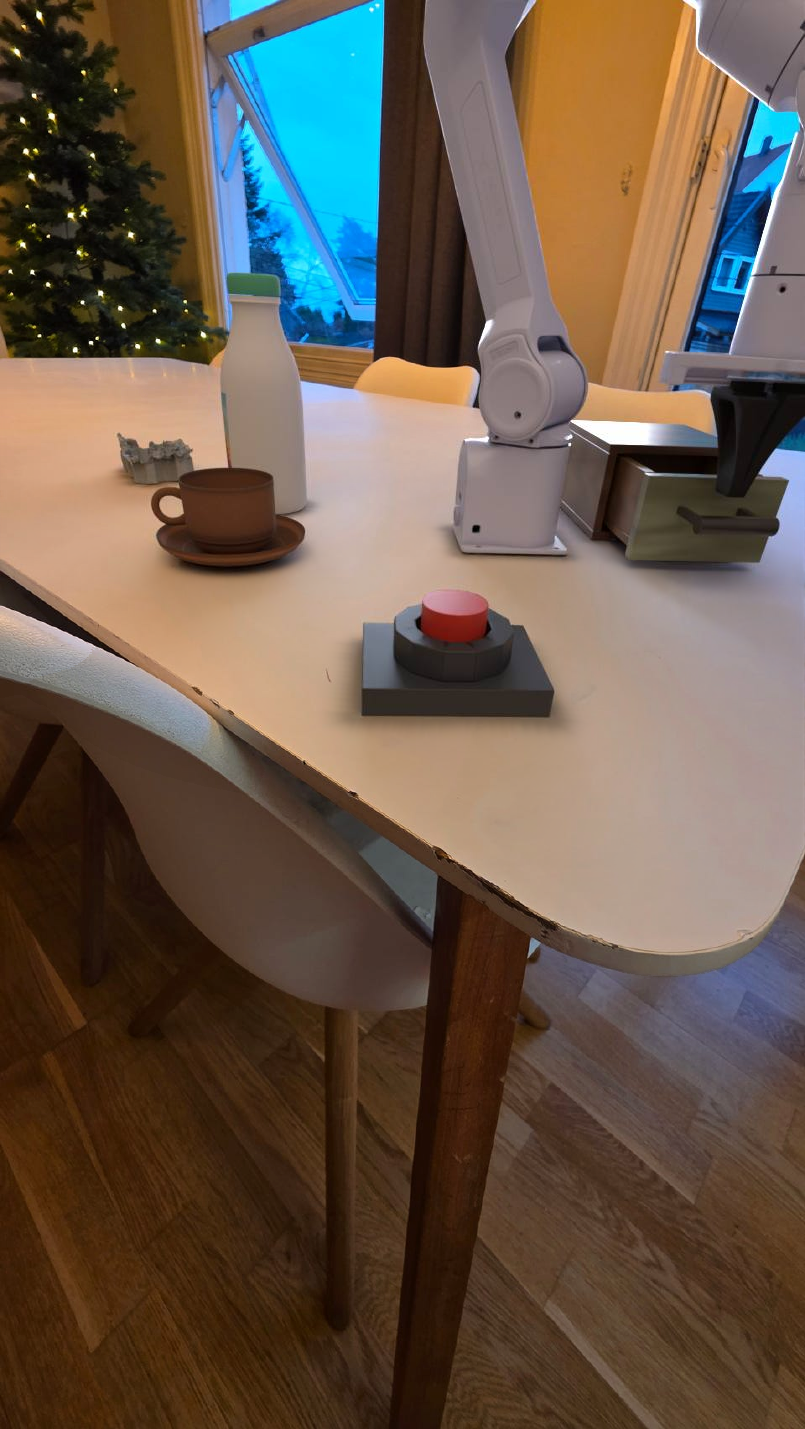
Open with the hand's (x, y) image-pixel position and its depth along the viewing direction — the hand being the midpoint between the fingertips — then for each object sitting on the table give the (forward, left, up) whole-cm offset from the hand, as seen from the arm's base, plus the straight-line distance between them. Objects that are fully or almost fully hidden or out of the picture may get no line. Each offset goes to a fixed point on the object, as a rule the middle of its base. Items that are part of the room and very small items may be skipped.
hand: (729, 494), depth 48 cm
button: (-23, -17, -4) cm, 29 cm away
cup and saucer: (-39, +4, -7) cm, 40 cm away
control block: (-23, -17, -7) cm, 29 cm away
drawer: (0, +6, -6) cm, 8 cm away
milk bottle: (-38, +19, -7) cm, 43 cm away
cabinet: (0, +17, -7) cm, 19 cm away
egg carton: (-53, +32, -7) cm, 62 cm away
